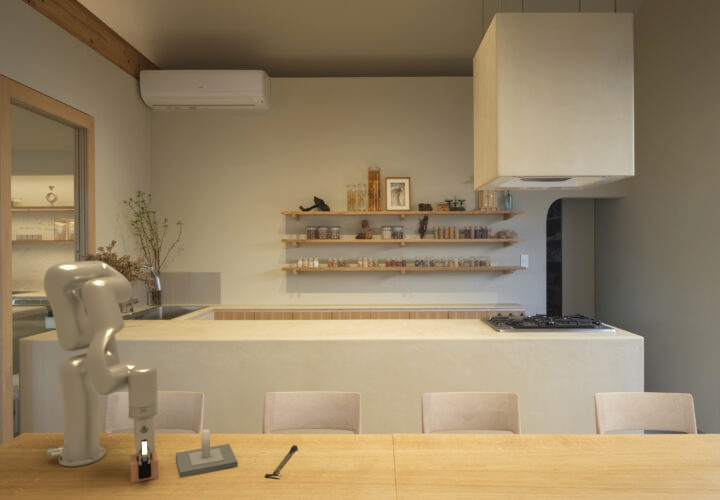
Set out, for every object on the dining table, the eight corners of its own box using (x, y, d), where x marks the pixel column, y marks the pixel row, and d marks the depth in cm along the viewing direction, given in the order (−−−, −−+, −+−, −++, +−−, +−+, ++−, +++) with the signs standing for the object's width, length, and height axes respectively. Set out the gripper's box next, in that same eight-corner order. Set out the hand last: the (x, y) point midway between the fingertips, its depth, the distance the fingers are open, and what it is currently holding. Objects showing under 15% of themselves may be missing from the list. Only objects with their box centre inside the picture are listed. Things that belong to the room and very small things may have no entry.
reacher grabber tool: (285, 484, 141) (286, 480, 141) (263, 479, 143) (264, 475, 143) (311, 451, 162) (312, 448, 162) (292, 447, 163) (292, 444, 163)
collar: (131, 482, 140) (130, 464, 140) (130, 472, 147) (130, 454, 147) (158, 477, 143) (158, 460, 143) (157, 467, 150) (156, 450, 150)
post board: (180, 477, 143) (179, 444, 143) (175, 457, 156) (175, 427, 156) (237, 466, 150) (237, 434, 150) (229, 448, 163) (228, 418, 162)
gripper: (159, 417, 138) (160, 482, 139) (156, 399, 154) (157, 457, 155) (128, 422, 135) (130, 488, 136) (128, 402, 151) (130, 461, 151)
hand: (144, 471), depth 145 cm, fingers closed on collar, 7 cm apart
